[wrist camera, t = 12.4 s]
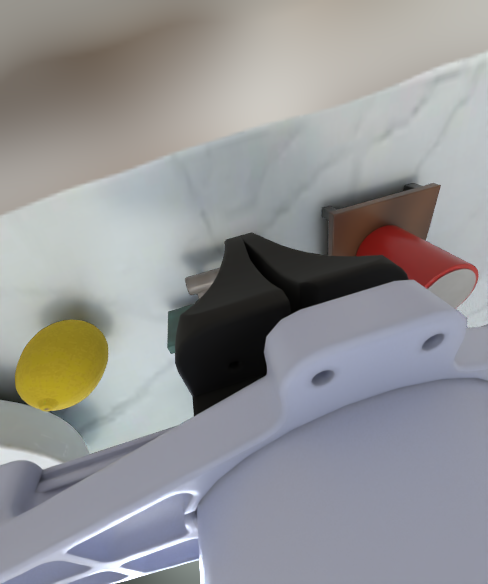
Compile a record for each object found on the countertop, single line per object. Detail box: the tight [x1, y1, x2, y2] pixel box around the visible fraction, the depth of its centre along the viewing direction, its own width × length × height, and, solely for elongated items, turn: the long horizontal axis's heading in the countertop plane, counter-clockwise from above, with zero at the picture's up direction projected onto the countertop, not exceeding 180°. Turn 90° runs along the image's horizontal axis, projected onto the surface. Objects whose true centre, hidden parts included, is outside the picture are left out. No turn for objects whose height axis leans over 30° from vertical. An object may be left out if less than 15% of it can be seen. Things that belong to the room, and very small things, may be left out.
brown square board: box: [322, 183, 441, 256], centre depth 23 cm, size 9×9×2 cm
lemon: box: [15, 320, 108, 412], centre depth 19 cm, size 6×6×8 cm
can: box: [356, 225, 478, 309], centre depth 19 cm, size 5×5×7 cm
